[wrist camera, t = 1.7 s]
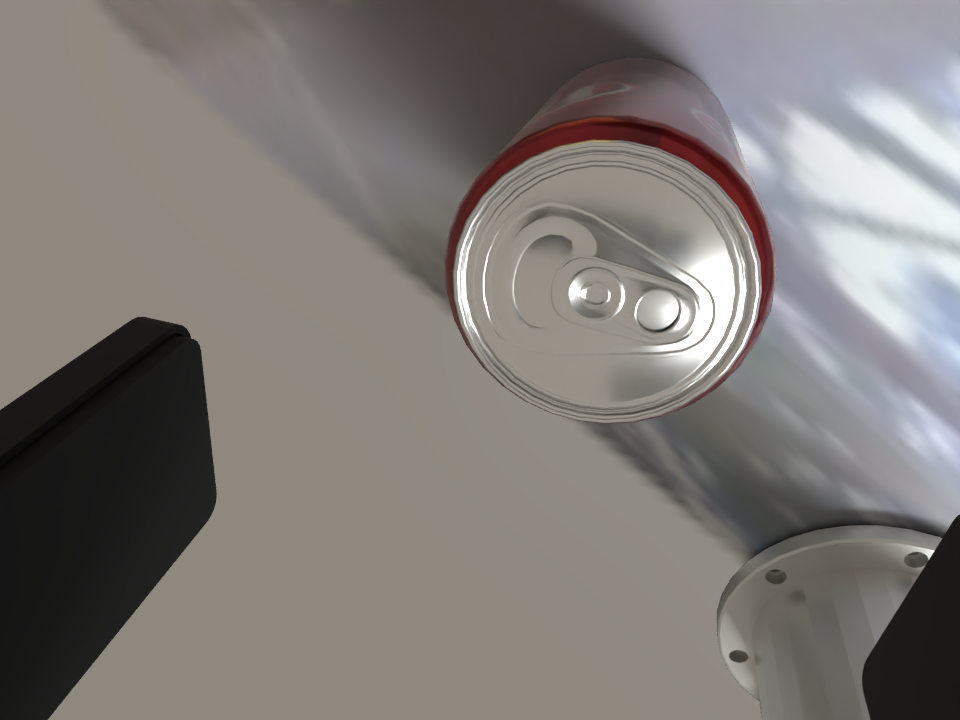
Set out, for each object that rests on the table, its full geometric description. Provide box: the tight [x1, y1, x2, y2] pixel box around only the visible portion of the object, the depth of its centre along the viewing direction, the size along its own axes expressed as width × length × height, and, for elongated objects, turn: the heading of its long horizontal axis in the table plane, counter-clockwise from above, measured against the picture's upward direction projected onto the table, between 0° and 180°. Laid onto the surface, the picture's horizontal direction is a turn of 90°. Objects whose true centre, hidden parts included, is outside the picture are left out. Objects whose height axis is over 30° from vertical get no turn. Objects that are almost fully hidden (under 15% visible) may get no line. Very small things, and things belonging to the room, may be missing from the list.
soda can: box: [445, 58, 776, 424], centre depth 20 cm, size 7×7×12 cm
